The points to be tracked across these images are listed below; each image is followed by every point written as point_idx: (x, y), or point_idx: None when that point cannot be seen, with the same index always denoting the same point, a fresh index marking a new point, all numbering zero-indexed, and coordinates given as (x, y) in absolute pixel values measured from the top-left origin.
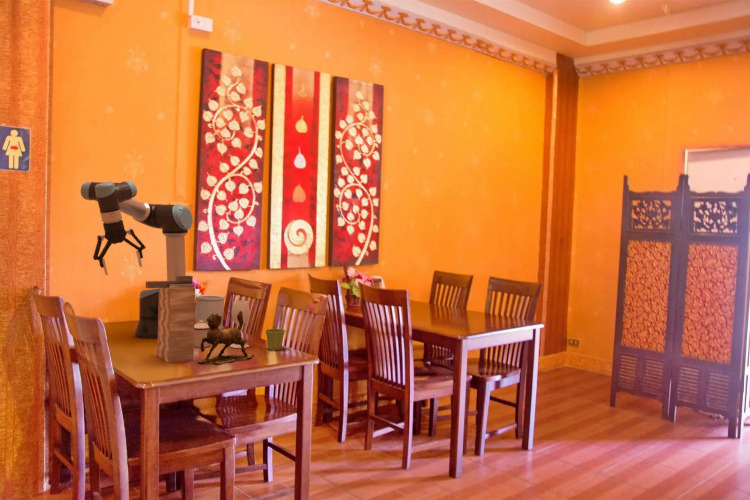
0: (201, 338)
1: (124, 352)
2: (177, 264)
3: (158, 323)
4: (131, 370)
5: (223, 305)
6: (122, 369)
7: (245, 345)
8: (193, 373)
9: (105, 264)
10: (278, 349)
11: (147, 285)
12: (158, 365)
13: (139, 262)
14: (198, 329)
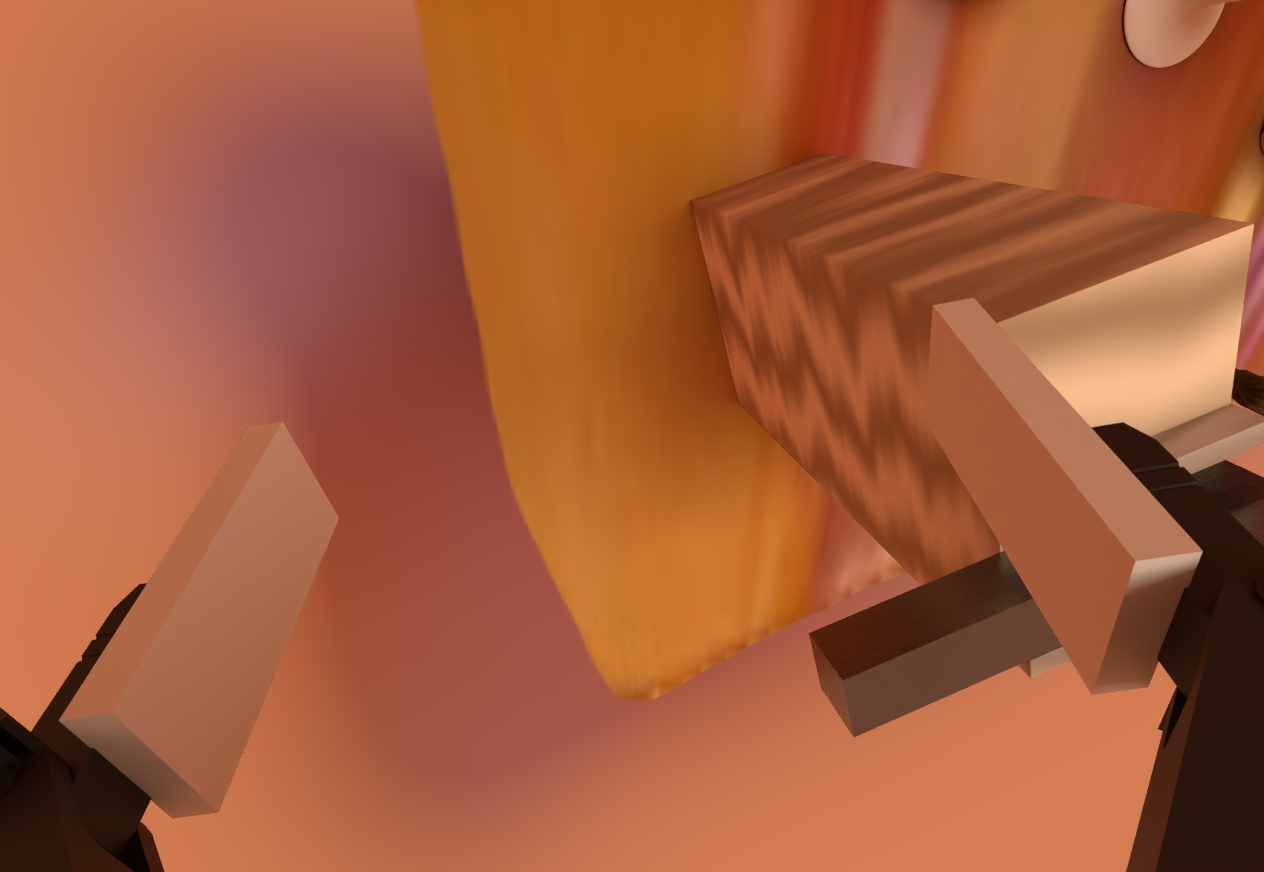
0: None
1: (483, 76)
2: None
3: (777, 248)
4: (570, 536)
5: None
6: (528, 518)
7: (1201, 35)
8: (812, 585)
9: (263, 700)
10: None
11: (833, 703)
12: (688, 450)
13: (964, 481)
14: None
